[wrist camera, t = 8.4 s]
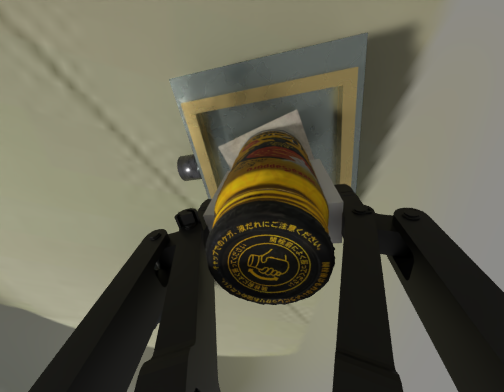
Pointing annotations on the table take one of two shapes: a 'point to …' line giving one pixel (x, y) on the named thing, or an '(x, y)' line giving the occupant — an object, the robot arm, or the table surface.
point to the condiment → (271, 218)
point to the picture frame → (277, 106)
